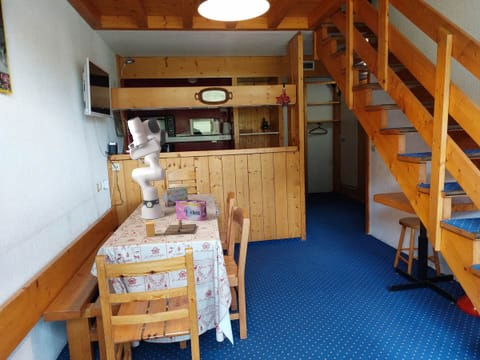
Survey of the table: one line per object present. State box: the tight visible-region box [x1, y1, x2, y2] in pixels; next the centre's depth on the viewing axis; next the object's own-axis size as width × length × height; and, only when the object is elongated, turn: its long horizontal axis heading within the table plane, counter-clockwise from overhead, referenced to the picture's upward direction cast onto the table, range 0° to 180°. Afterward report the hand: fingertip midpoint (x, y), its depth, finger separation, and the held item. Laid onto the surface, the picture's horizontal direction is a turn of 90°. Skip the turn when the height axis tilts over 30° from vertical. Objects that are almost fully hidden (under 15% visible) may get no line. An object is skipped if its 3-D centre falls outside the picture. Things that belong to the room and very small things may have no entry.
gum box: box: [175, 199, 208, 222], centre depth 237 cm, size 24×8×14 cm, turn 62°
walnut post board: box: [163, 219, 197, 236], centre depth 208 cm, size 18×18×7 cm
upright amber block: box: [145, 221, 156, 238], centre depth 200 cm, size 5×5×8 cm
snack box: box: [163, 186, 189, 208], centre depth 292 cm, size 21×6×15 cm, turn 131°
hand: (149, 161), depth 209 cm, fingers open, 8 cm apart
